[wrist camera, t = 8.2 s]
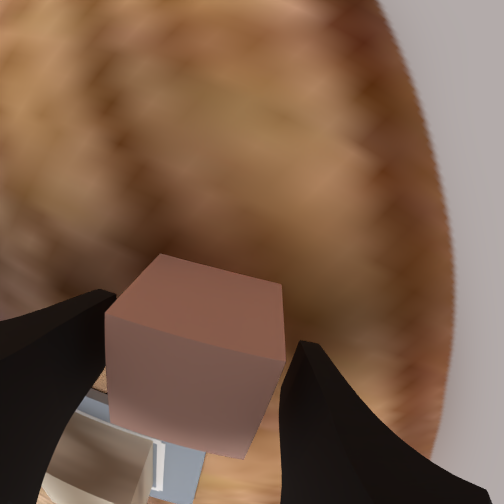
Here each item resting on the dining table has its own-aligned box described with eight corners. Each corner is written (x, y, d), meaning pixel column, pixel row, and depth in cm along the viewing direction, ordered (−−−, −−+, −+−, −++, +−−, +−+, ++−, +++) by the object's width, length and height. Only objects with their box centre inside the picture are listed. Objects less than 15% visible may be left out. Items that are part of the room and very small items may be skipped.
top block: (150, 348, 11) (110, 422, 8) (160, 252, 10) (104, 312, 6) (251, 375, 11) (243, 460, 8) (281, 283, 10) (286, 361, 6)
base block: (76, 454, 14) (52, 501, 10) (61, 405, 12) (25, 460, 8) (153, 483, 14) (136, 536, 10) (153, 441, 12) (128, 508, 9)
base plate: (55, 450, 15) (51, 456, 15) (25, 357, 12) (18, 364, 12) (192, 499, 15) (191, 507, 15) (212, 426, 12) (210, 436, 12)
